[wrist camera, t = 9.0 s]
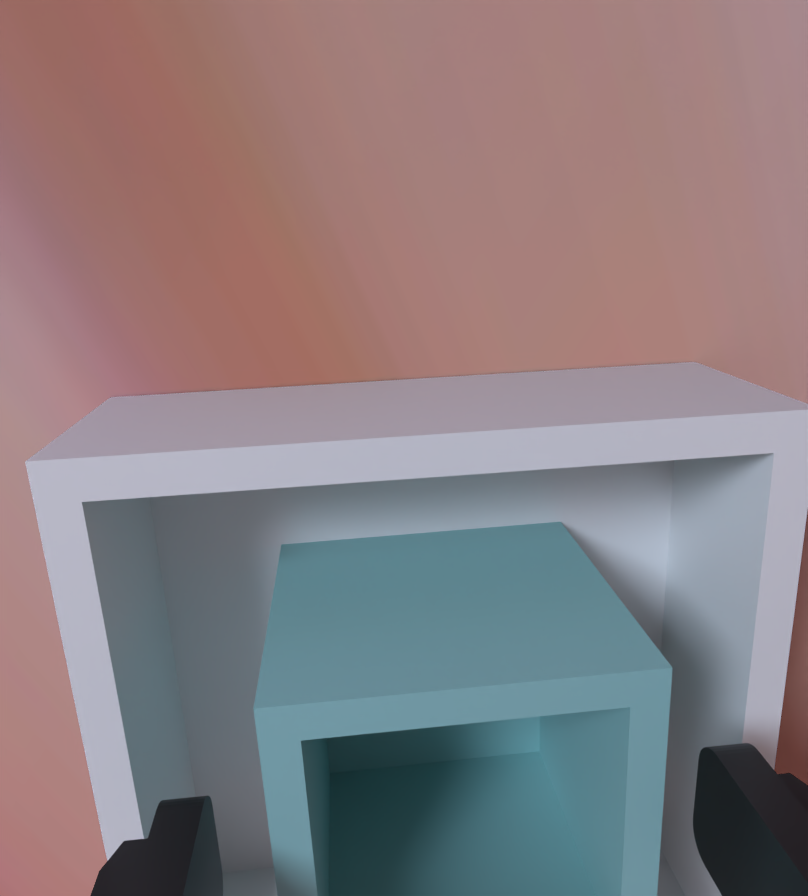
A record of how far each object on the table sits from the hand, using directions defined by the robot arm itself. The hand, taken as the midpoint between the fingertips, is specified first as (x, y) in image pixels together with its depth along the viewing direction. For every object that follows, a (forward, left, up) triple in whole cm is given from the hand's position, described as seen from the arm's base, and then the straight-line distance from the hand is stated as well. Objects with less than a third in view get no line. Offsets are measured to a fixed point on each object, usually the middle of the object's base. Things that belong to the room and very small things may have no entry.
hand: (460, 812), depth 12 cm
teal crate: (0, 0, -5) cm, 5 cm away
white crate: (0, 0, -6) cm, 6 cm away
